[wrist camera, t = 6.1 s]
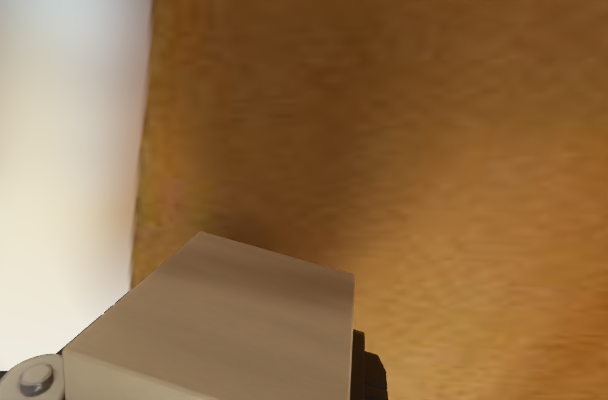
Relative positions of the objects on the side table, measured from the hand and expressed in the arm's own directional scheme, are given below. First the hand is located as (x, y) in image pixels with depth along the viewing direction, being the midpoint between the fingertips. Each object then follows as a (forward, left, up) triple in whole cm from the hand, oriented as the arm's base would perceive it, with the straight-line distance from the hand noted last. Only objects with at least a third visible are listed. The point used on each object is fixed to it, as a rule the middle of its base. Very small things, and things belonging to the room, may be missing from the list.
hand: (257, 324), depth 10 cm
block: (0, 0, 0) cm, 0 cm away
